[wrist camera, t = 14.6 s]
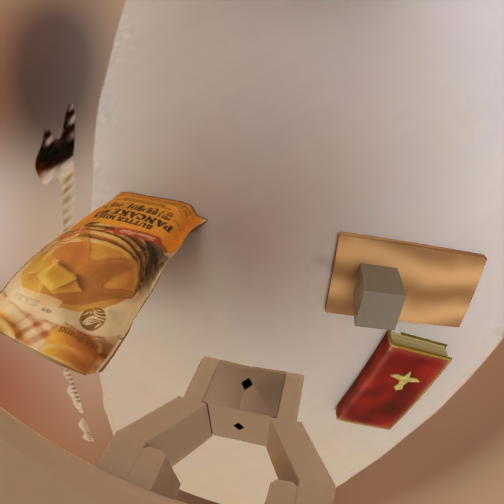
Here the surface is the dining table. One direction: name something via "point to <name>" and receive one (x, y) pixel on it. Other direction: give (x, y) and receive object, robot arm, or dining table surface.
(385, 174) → the dining table surface
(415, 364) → the hardcover book
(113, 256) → the pancake mix bag
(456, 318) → the board
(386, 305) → the gray rectangular block
